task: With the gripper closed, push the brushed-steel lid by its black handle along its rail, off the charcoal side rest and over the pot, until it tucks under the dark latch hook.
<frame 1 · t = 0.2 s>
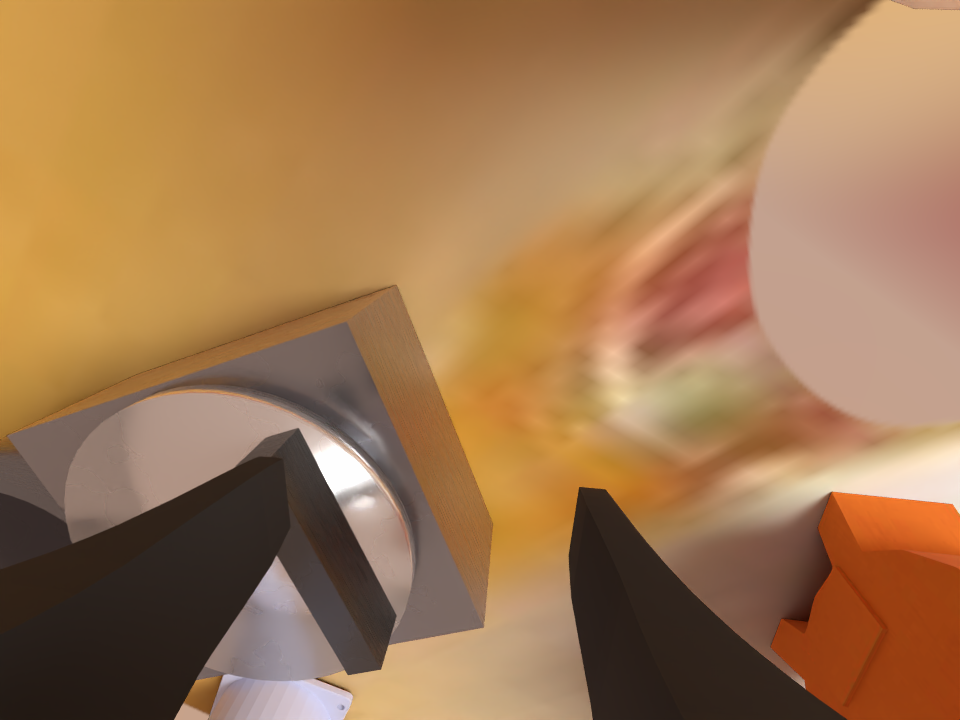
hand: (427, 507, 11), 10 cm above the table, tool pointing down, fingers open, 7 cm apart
lid: (226, 569, 16), point 8 cm above the table, slide at 12.0 cm
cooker: (128, 504, 25), on the table
orange lumpy piece: (855, 578, 23), on the table
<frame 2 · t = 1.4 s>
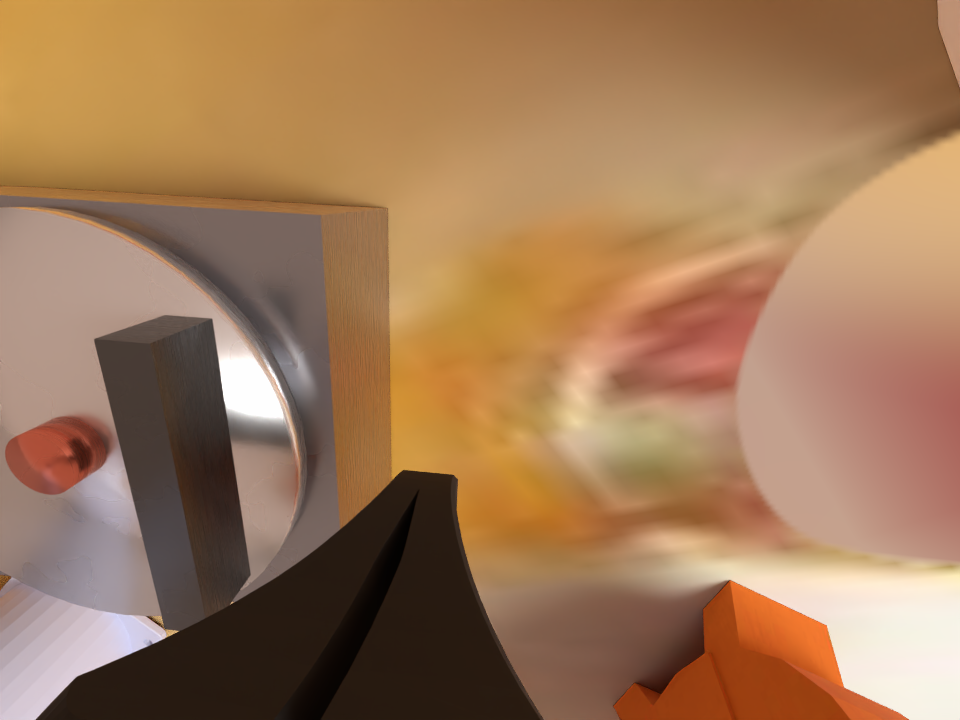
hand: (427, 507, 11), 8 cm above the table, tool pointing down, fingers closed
lid: (54, 457, 12), point 8 cm above the table, slide at 12.0 cm
orange lumpy piece: (714, 665, 23), on the table
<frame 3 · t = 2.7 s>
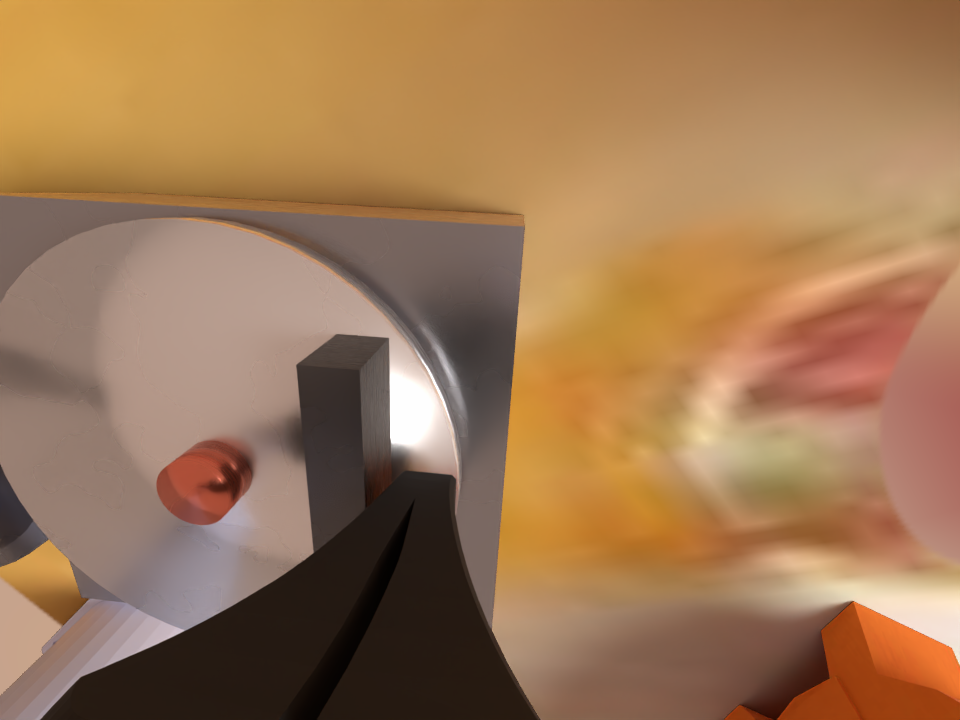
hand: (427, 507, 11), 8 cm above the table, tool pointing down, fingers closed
lid: (203, 484, 11), point 8 cm above the table, slide at 11.6 cm, touching gripper
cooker: (59, 350, 19), on the table
orange lumpy piece: (825, 687, 22), on the table
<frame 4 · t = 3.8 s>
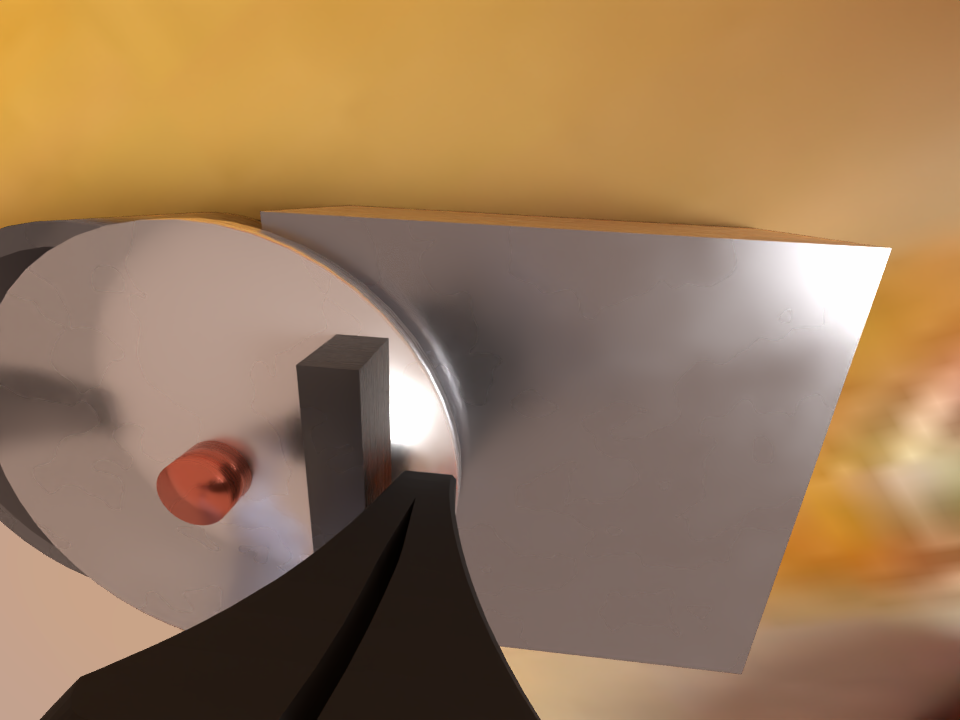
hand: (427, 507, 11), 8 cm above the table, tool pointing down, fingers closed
lid: (203, 484, 11), point 8 cm above the table, slide at 3.7 cm, touching gripper
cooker: (238, 365, 19), on the table
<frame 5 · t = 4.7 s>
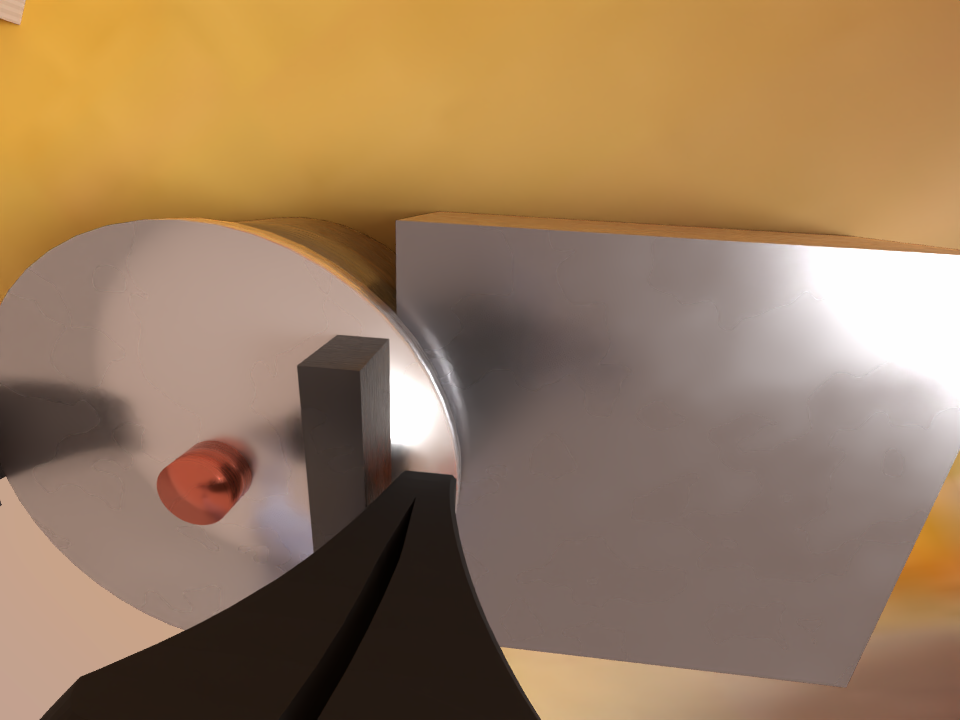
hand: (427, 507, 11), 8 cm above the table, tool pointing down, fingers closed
lid: (203, 484, 11), point 8 cm above the table, slide at 0.5 cm, touching gripper
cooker: (314, 371, 19), on the table
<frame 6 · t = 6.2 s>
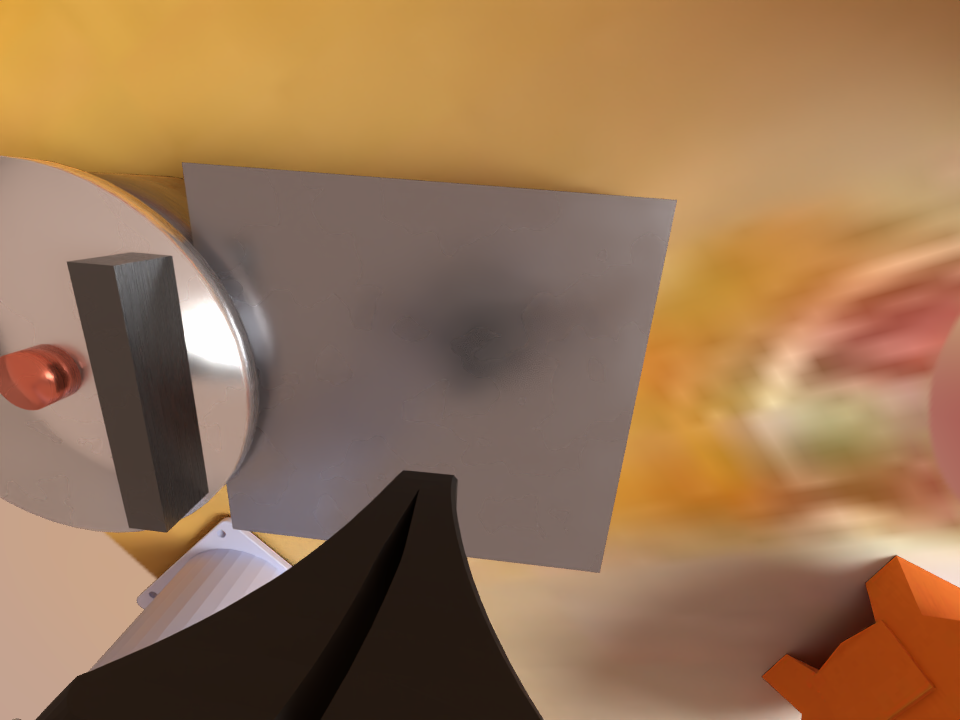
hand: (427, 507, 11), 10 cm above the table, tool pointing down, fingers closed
lid: (34, 378, 14), point 8 cm above the table, slide at 0.5 cm
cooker: (189, 315, 21), on the table
orange lumpy piece: (865, 638, 25), on the table
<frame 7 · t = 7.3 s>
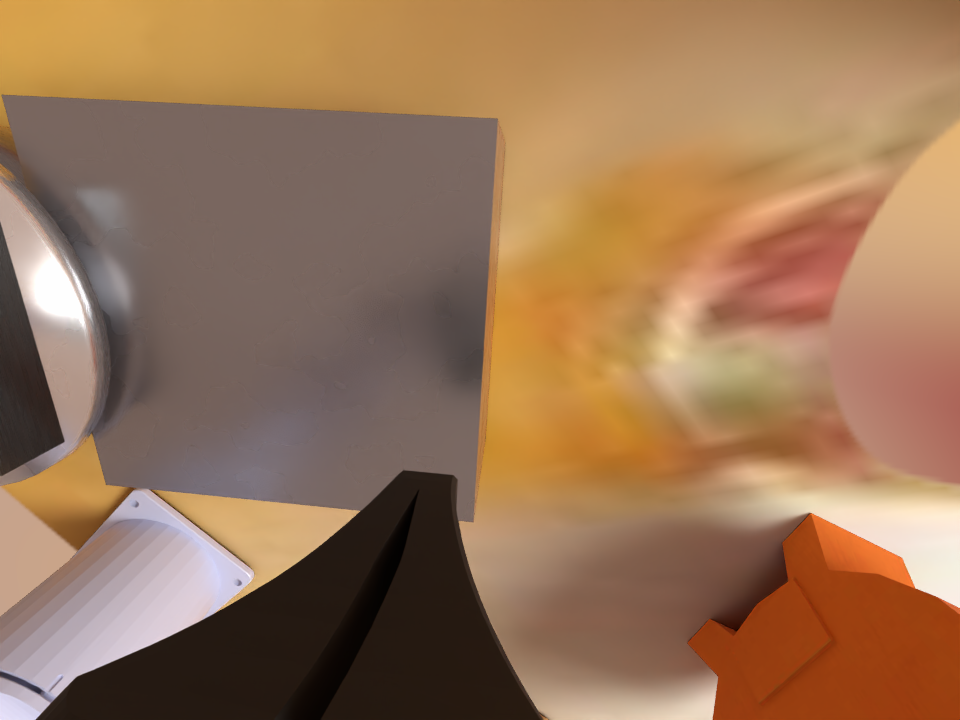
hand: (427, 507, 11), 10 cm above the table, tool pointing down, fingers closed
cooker: (82, 277, 21), on the table
orange lumpy piece: (788, 601, 24), on the table
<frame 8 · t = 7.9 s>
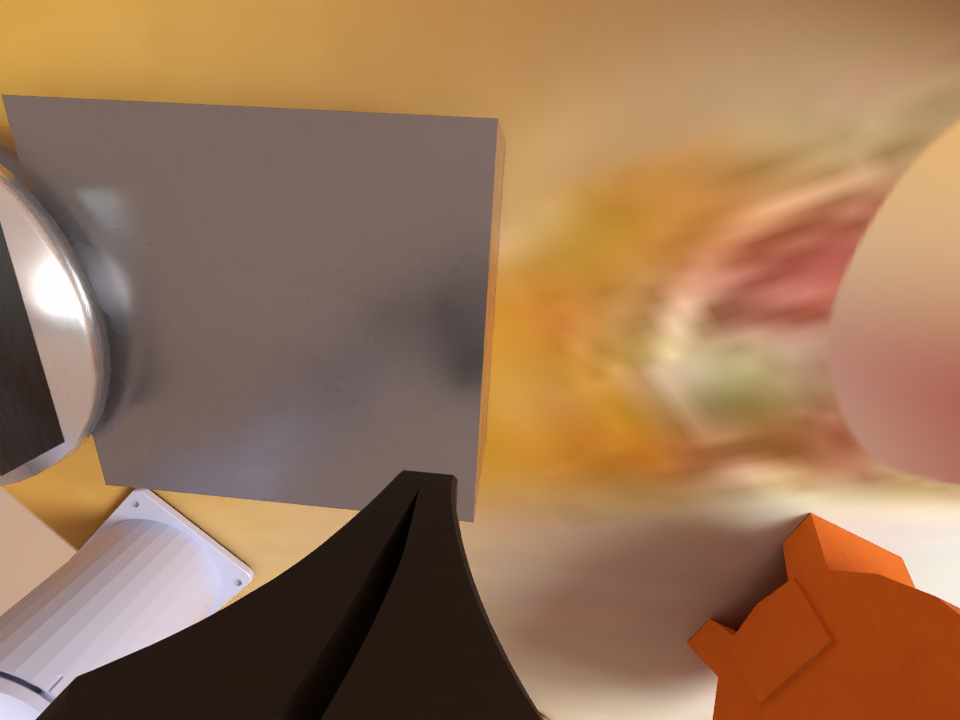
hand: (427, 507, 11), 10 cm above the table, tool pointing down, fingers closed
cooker: (82, 277, 21), on the table
orange lumpy piece: (788, 601, 24), on the table
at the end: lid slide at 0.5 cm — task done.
